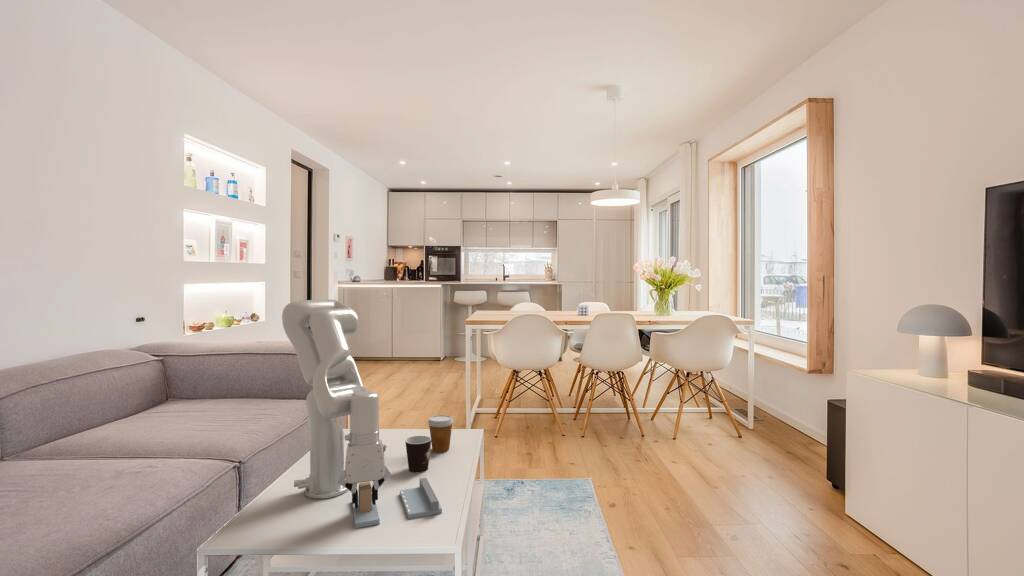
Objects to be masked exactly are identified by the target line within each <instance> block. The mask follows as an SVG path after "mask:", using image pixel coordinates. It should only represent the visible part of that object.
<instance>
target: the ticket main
mask: <svg viewBox="0 0 1024 576" xmlns="http://www.w3.org/2000/svg"><path fill="white" fill-rule="evenodd" d="M399 496H400V499H401V502H402V504H403V507H404V511H405V513H406V516H407V518H408V520H410V519H416V518H421V517H428V516H433V515H438V514H442V513H443V508H442V506H441V504H440V500H439V499H438V498H437V496H436V494H435V492H434V489H433V487H432V486H431V484H430V482H429V480H428V478H427V477H421V478H419V486H417V487H412V488H411V487H410V488H405V489H401V490H399Z"/></svg>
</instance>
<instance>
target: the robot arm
mask: <svg viewBox="0 0 1024 576" xmlns="http://www.w3.org/2000/svg"><path fill="white" fill-rule="evenodd" d="M281 319H282V328H283V330H284V332H285V334H286V337H287V338H288V340H289V342H290V343H291V345H292V347H293V348H294V350H295V354H296V357H297V360H298V363H299V367H300V371H301V374H302V377H303V379H304V381H305V383H306V384H307V385H309V386H312V390H311V391H309V393H308V394H307V396H306V400H305V404H306V410H307V416H308V422H309V423H308V425H309V452H310V453H309V455H310V456H309V461H310V462H309V472H310V473H309V476H308V477H305V478H303V479H294V480H293V487H294V488H297V489H298V490H300V489H304V495H305V496H306V497H308V498H310V499H317V500H318V499H319V500H320V499H321V500H322V499H323V500H324V499H330V498H331V499H332V498H334V497H337V496H339V495H343V494H344V493H346V492H347V491H349V492H351V505H352V504H355V508H357V507H358V496H359V490H358V484H359V483H364V482H372V485H371V489H372V503H373V505H376V506H377V503H376V501H377V500H379V489H380V487H381V486H382V485H383V484H384V482H385V481H387V480H388V479H389V478H390V477H392V473H391V472H390V470H389V469H388V467H386V464H385V452H384V451H383V441H382V440H381V439H380V423H379V421H380V414H379V413H380V399H379V398H380V397H379V394H378V393H377V392H375V391H374V390H369V389H368V388H366V387H365V386H364V384H363V381H362V378H361V376H360V373H359V369H358V367H357V364H356V362H355V361H356V360H354V358H353V357H352V356H351V349H350V347H349V344H348V341H347V338H346V336H348V335H354V334H356V333H357V331H358V329H359V326H360V321H359V317H358V315H357V313H356V311H355V310H354V309H353V308H351V307H350V306H349V305H346V304H345V303H343V302H340V301H339V300H335V299H308V300H307V299H306V300H305V299H304V300H296V301H291V302H289V303H288V304H287V305H285V306H284V308H283V310H282V314H281ZM348 415H349V418H350V419H349V423H350V424H349V429H350V430H349V433H348V434H346V435H344V433H345V431H344V428H343V426H342V425H341V424H340V422H339V421H338V420H337V418H341V417H345V416H348ZM345 441H349V442H348V443H347V447H346V450H345V446H344V444H345V443H344V442H345ZM345 451H346V453H345ZM345 454H346V455H345ZM344 455H345V456H344Z"/></svg>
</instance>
